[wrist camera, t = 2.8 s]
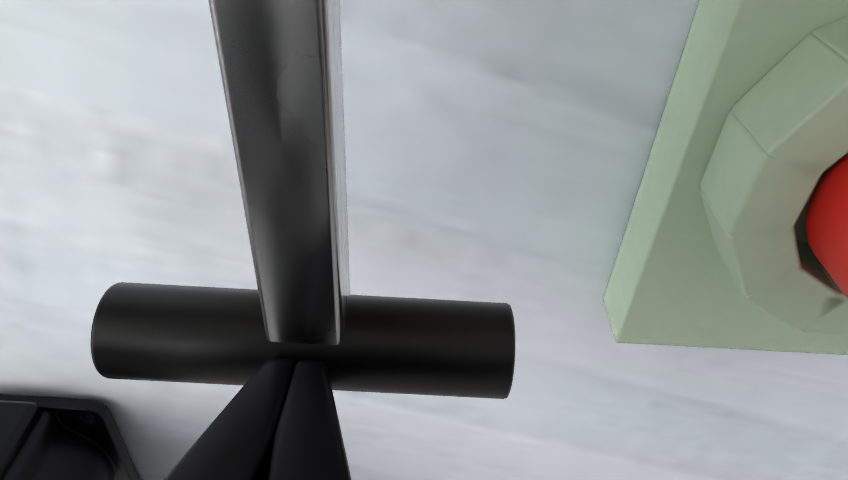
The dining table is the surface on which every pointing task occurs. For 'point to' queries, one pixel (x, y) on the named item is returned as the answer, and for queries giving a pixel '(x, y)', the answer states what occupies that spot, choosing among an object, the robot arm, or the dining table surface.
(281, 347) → the switch lever
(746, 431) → the dining table surface
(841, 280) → the red push button
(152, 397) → the dining table surface
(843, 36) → the button box
